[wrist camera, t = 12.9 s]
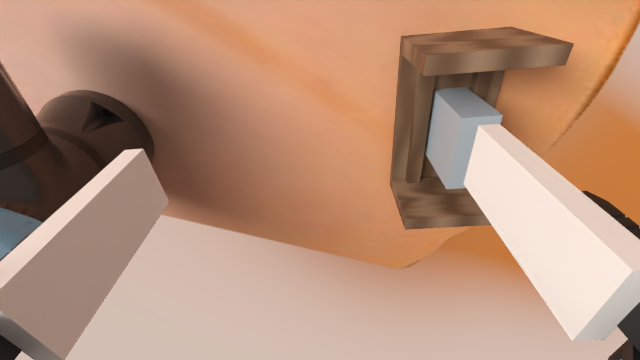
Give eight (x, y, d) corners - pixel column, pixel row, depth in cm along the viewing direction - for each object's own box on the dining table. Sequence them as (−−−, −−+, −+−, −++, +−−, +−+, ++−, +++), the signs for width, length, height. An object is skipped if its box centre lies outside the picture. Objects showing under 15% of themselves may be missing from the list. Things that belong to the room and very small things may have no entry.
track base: (389, 184, 52) (405, 229, 42) (401, 36, 38) (427, 55, 29) (470, 179, 51) (502, 224, 42) (511, 26, 37) (573, 43, 28)
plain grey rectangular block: (424, 151, 46) (446, 189, 38) (433, 89, 41) (461, 118, 32) (452, 149, 46) (481, 187, 38) (465, 87, 40) (503, 115, 32)
